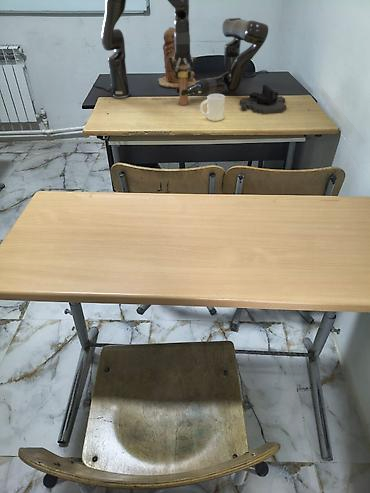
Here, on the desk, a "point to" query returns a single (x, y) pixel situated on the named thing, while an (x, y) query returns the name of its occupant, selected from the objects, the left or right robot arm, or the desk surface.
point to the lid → (183, 74)
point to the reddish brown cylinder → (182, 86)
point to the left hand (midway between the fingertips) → (183, 78)
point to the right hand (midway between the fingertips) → (179, 91)
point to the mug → (214, 107)
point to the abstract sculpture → (264, 101)
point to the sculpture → (168, 52)
